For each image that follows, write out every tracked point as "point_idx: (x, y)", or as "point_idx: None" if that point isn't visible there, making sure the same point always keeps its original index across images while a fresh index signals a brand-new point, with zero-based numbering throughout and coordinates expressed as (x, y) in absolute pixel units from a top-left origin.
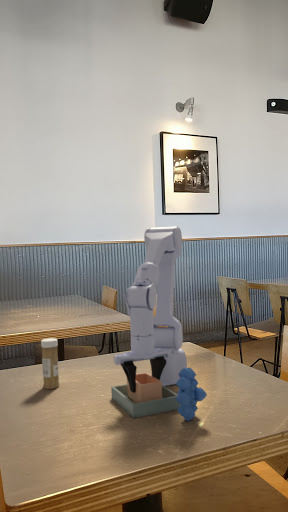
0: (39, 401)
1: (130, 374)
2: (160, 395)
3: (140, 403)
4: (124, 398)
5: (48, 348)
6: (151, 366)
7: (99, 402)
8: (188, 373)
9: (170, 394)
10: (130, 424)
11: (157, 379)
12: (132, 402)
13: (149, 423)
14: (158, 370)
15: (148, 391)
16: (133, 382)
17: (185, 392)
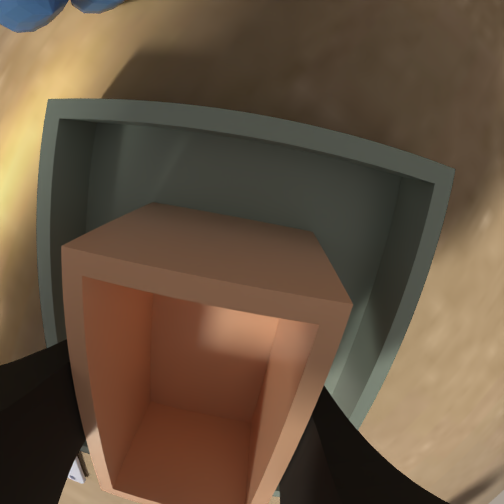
0: (467, 490)
1: (405, 482)
2: (140, 216)
3: (398, 154)
4: (399, 339)
5: None
6: (54, 498)
7: (379, 441)
8: None
9: (61, 224)
10: (462, 109)
11: (71, 339)
12: (429, 218)
13: (379, 41)
14: (5, 397)
15: (246, 254)
16: (337, 419)
17: None
